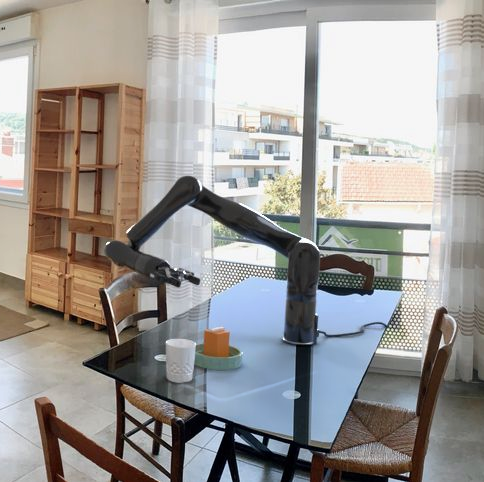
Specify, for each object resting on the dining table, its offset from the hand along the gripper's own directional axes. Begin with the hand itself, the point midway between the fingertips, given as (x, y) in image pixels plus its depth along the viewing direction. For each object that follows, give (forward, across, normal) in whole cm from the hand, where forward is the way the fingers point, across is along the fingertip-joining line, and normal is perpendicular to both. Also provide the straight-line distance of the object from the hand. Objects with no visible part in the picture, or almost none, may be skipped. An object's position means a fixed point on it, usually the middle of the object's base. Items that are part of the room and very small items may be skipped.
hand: (189, 283), depth 186 cm
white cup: (+18, -19, +20) cm, 33 cm away
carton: (+15, -1, +19) cm, 24 cm away
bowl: (+15, -1, +20) cm, 25 cm away
